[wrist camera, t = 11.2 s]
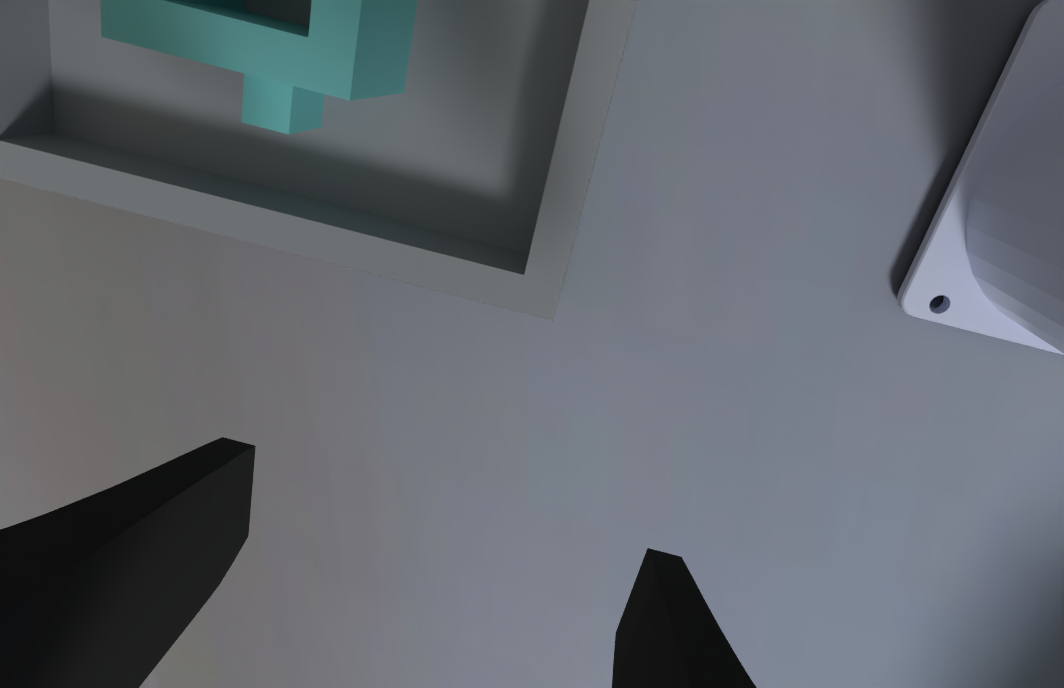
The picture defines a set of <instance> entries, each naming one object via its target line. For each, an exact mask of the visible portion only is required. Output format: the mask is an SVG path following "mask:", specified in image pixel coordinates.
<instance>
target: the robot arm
mask: <svg viewBox="0 0 1064 688" xmlns="http://www.w3.org/2000/svg"><path fill="white" fill-rule="evenodd" d="M939 295H943V296H944V300H943V303H942V304H941V305H940V306H939V307H937V308H935V309H930V308H929V305H930V302H931V300H932V299H933V298H934V297H936V296H939ZM897 301H898V305H899V306H900V307H901V309H902V310H903V311H905V312H906V313H907V314H909V315H911V316H914V317H918V318H922V319H926V320H930V321H934V322H938V323H941V324H945V325H949V326H953V327H957V328H961V329H965V330H969V331H973V332H977V333H981V334H985V335H988V336H992V337H996V338H1000V339H1004V340H1008V341H1012V342H1016V343H1020V344H1024V345H1028V346H1031V347H1035V348H1039V349H1043V350H1047V351H1051V352H1055V353H1059V354H1063V355H1064V0H1044V1H1042V2H1041V3H1040V4H1038V5H1037V6H1036V7H1035V8H1034V9H1033V11H1032V12H1031V14H1030V15H1029V17H1028V19H1027V21H1026V23H1025V25H1024V27H1023V29H1022V32H1021V34H1020V36H1019V38H1018V40H1017V42H1016V44H1015V46H1014V49H1013V51H1012V53H1011V55H1010V57H1009V59H1008V61H1007V63H1006V65H1005V68H1004V70H1003V72H1002V74H1001V76H1000V78H999V80H998V82H997V84H996V87H995V89H994V91H993V93H992V95H991V97H990V99H989V101H988V104H987V106H986V108H985V110H984V112H983V114H982V116H981V118H980V120H979V123H978V125H977V127H976V129H975V131H974V133H973V135H972V137H971V139H970V142H969V144H968V146H967V148H966V150H965V152H964V154H963V156H962V158H961V161H960V163H959V165H958V167H957V169H956V171H955V173H954V175H953V178H952V180H951V182H950V184H949V186H948V188H947V190H946V192H945V194H944V197H943V199H942V201H941V203H940V205H939V207H938V209H937V211H936V213H935V216H934V218H933V220H932V222H931V224H930V226H929V228H928V230H927V233H926V235H925V237H924V239H923V241H922V243H921V245H920V247H919V249H918V252H917V254H916V256H915V258H914V260H913V262H912V264H911V266H910V268H909V271H908V273H907V275H906V277H905V279H904V281H903V283H902V285H901V288H900V290H899V292H898V296H897ZM254 458H255V446H254V445H250V444H246V443H243V442H239V441H235V440H231V439H227V438H223V437H222V438H220V439H217V440H215V441H213V442H210V443H208V444H206V445H203V446H201V447H199V448H197V449H195V450H192V451H190V452H188V453H186V454H184V455H182V456H179V457H177V458H175V459H173V460H171V461H169V462H167V463H164V464H162V465H160V466H158V467H156V468H153V469H151V470H149V471H147V472H145V473H142V474H140V475H138V476H136V477H133V478H131V479H129V480H127V481H124V482H122V483H120V484H118V485H116V486H113V487H111V488H109V489H106V490H104V491H101V492H99V493H96V494H94V495H91V496H89V497H86V498H84V499H81V500H79V501H76V502H74V503H71V504H69V505H66V506H64V507H61V508H59V509H57V510H54V511H52V512H49V513H46V514H44V515H41V516H38V517H36V518H33V519H30V520H27V521H24V522H21V523H19V524H16V525H13V526H10V527H7V528H4V529H1V530H0V688H139V687H140V685H141V684H142V683H143V682H144V680H145V679H146V678H147V677H148V675H149V674H150V673H151V672H152V670H153V669H154V668H155V666H156V665H157V664H158V663H159V661H160V660H161V659H162V658H163V656H164V655H165V654H166V653H167V651H168V650H169V649H170V647H171V646H172V645H173V644H174V642H175V641H176V640H177V639H178V637H179V636H180V635H181V634H182V632H183V631H184V630H185V628H186V627H187V626H188V625H189V623H190V622H191V621H192V620H193V618H194V617H195V616H196V614H197V613H198V612H199V611H200V609H201V608H202V607H203V605H204V604H205V603H206V602H207V600H208V599H209V598H210V596H211V595H212V594H213V592H214V591H215V590H216V588H217V587H218V586H219V584H220V583H221V581H222V579H223V578H224V576H225V575H226V573H227V571H228V570H229V568H230V567H231V565H232V563H233V562H234V560H235V558H236V556H237V555H238V553H239V551H240V550H241V548H242V546H243V544H244V543H245V541H246V539H247V538H248V533H249V521H250V508H251V496H252V483H253V471H254ZM612 688H756V686H755V685H754V683H753V682H752V680H751V679H750V677H749V676H748V674H747V673H746V671H745V669H744V668H743V666H742V665H741V663H740V661H739V659H738V658H737V656H736V654H735V653H734V651H733V649H732V648H731V646H730V644H729V643H728V641H727V639H726V637H725V636H724V634H723V632H722V631H721V629H720V627H719V625H718V623H717V622H716V620H715V618H714V616H713V614H712V613H711V611H710V609H709V607H708V605H707V603H706V602H705V600H704V598H703V596H702V594H701V592H700V590H699V589H698V587H697V585H696V583H695V581H694V579H693V577H692V575H691V574H690V572H689V570H688V568H687V566H686V564H685V563H684V561H683V559H682V557H680V556H676V555H672V554H668V553H665V552H661V551H657V550H653V549H649V548H648V549H647V551H646V554H645V557H644V559H643V562H642V565H641V567H640V570H639V573H638V575H637V578H636V581H635V583H634V586H633V589H632V591H631V594H630V597H629V599H628V602H627V605H626V607H625V610H624V613H623V615H622V618H621V621H620V623H619V626H618V628H617V631H616V638H615V651H614V664H613V680H612Z"/></svg>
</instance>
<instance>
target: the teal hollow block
mask: <svg viewBox="0 0 1064 688" xmlns="http://www.w3.org/2000/svg"><path fill="white" fill-rule="evenodd" d="M100 5H101V37H104V38H108V39H112V40H116V41H120V42H124V43H128V44H131V45H135V46H139V47H143V48H147V49H151V50H155V51H159V52H163V53H167V54H170V55H174V56H178V57H182V58H186V59H190V60H194V61H198V62H202V63H205V64H209V65H213V66H217V67H221V68H225V69H229V70H233V71H237V72H241V73H244V86H243V102H242V119H241V122H242V123H246V124H250V125H254V126H258V127H262V128H266V129H270V130H274V131H277V132H281V133H285V134H293V133H298V132H302V131H307V130H311V129H316V128H321V121H322V112H323V102H324V94H326V95H330V96H334V97H338V98H342V99H346V100H358V99H365V98H372V97H379V96H387V95H394V94H401V93H404V87H405V81H406V74H407V67H408V60H409V54H410V47H411V40H412V33H413V27H414V20H415V13H416V7H417V0H312V3H311V14H310V25H309V27H307V26H303V25H299V24H295V23H291V22H287V21H283V20H279V19H275V18H271V17H268V16H264V15H260V14H256V13H252V12H248V11H245V0H100Z"/></svg>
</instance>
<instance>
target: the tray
mask: <svg viewBox="0 0 1064 688" xmlns="http://www.w3.org/2000/svg"><path fill="white" fill-rule="evenodd" d="M636 1H637V0H417V7H416V13H415V20H414V27H413V33H412V40H411V47H410V54H409V60H408V67H407V74H406V81H405V87H404V93H401V94H394V95H387V96H379V97H372V98H365V99H358V100H346V99H342V98H338V97H334V96H330V95H326V94H324V102H323V112H322V121H321V128H316V129H311V130H307V131H302V132H298V133H293V134H285V133H281V132H277V131H274V130H270V129H266V128H262V127H258V126H254V125H250V124H246V123H242V122H241V119H242V102H243V86H244V73H241V72H237V71H233V70H229V69H225V68H221V67H217V66H213V65H209V64H205V63H202V62H198V61H194V60H190V59H186V58H182V57H178V56H174V55H170V54H167V53H163V52H159V51H155V50H151V49H147V48H143V47H139V46H135V45H131V44H128V43H124V42H120V41H116V40H112V39H108V38H104V37H101V5H100V0H0V178H1V179H5V180H9V181H12V182H16V183H20V184H24V185H28V186H32V187H36V188H40V189H44V190H47V191H51V192H55V193H59V194H63V195H67V196H71V197H75V198H79V199H82V200H86V201H90V202H94V203H98V204H102V205H106V206H110V207H114V208H117V209H121V210H125V211H129V212H133V213H137V214H141V215H145V216H148V217H152V218H156V219H160V220H164V221H168V222H172V223H176V224H180V225H184V226H187V227H191V228H195V229H199V230H203V231H207V232H211V233H215V234H218V235H222V236H226V237H230V238H234V239H238V240H242V241H246V242H250V243H253V244H257V245H261V246H265V247H269V248H273V249H277V250H281V251H285V252H288V253H292V254H296V255H300V256H304V257H308V258H312V259H316V260H320V261H323V262H327V263H331V264H335V265H339V266H343V267H347V268H351V269H355V270H358V271H362V272H366V273H370V274H374V275H378V276H382V277H386V278H390V279H393V280H397V281H401V282H405V283H409V284H413V285H417V286H421V287H425V288H428V289H432V290H436V291H440V292H444V293H448V294H452V295H456V296H460V297H463V298H467V299H471V300H475V301H479V302H483V303H487V304H491V305H495V306H498V307H502V308H506V309H510V310H514V311H518V312H522V313H526V314H530V315H533V316H537V317H541V318H545V319H549V320H553V318H554V314H555V311H556V307H557V303H558V299H559V295H560V291H561V288H562V284H563V280H564V276H565V272H566V269H567V265H568V261H569V257H570V253H571V249H572V246H573V242H574V238H575V234H576V230H577V227H578V223H579V219H580V215H581V211H582V207H583V204H584V200H585V196H586V192H587V188H588V185H589V181H590V177H591V173H592V169H593V165H594V162H595V158H596V154H597V150H598V146H599V143H600V139H601V135H602V131H603V127H604V124H605V120H606V116H607V112H608V108H609V104H610V101H611V97H612V93H613V89H614V85H615V82H616V78H617V74H618V70H619V66H620V62H621V59H622V55H623V51H624V47H625V43H626V40H627V36H628V32H629V28H630V24H631V20H632V17H633V13H634V9H635V5H636ZM311 3H312V0H245V11H248V12H252V13H256V14H260V15H264V16H268V17H271V18H275V19H279V20H283V21H287V22H291V23H295V24H299V25H303V26H307V27H309V25H310V14H311Z"/></svg>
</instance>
